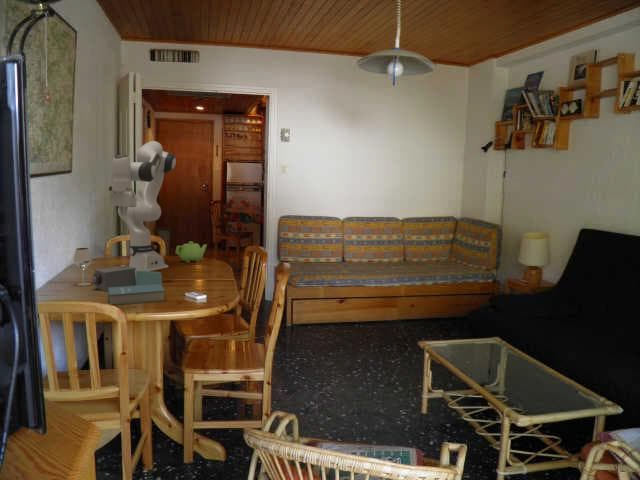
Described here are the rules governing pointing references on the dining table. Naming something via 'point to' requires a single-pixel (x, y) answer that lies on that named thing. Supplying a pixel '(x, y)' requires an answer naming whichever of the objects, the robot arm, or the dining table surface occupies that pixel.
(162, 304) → the dining table surface
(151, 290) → the book
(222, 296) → the dining table surface
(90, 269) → the dining table surface
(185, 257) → the teapot
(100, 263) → the dining table surface
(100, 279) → the housing
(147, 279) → the side door
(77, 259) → the wineglass
